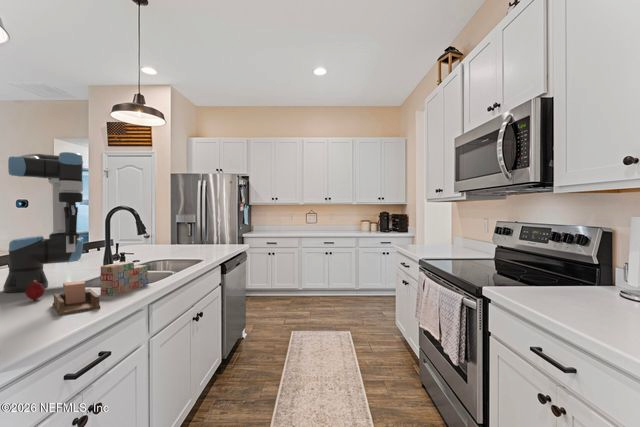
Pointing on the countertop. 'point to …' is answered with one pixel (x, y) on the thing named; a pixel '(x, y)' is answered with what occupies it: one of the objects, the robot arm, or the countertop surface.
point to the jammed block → (74, 292)
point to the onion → (34, 290)
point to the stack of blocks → (122, 277)
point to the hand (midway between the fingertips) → (70, 252)
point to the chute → (89, 303)
